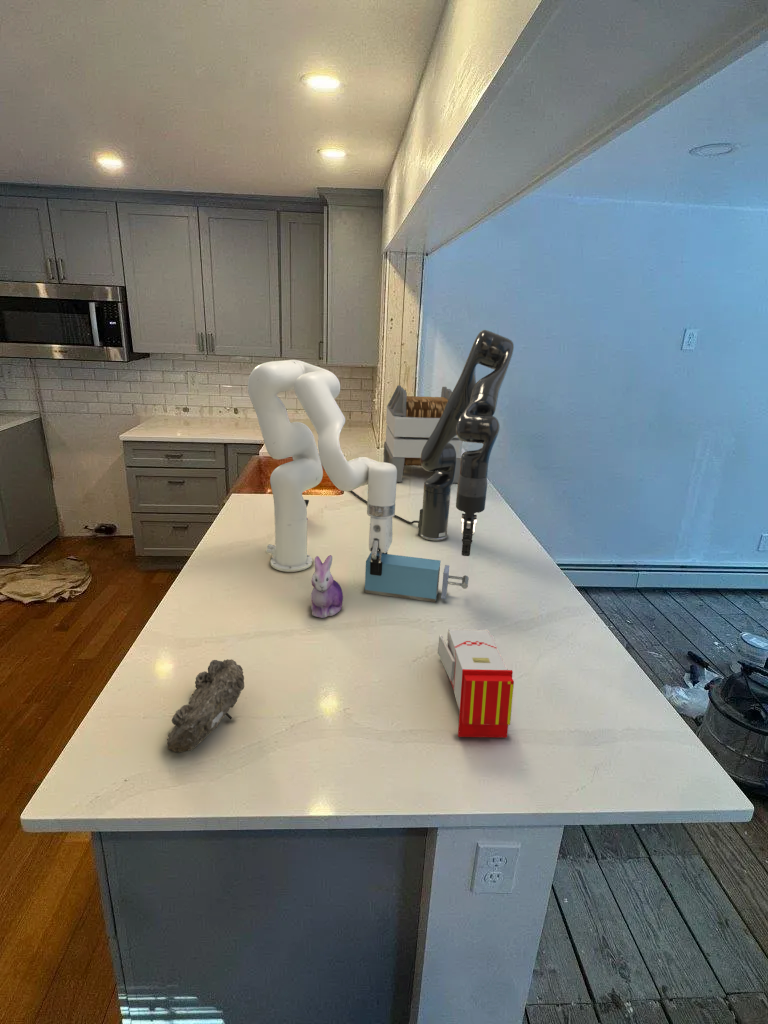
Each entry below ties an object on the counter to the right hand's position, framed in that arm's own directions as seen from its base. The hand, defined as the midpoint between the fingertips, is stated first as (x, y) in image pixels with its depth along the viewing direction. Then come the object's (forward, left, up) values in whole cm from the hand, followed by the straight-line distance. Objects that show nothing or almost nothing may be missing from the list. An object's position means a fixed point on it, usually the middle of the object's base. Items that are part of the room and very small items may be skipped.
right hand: (466, 549), depth 152 cm
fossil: (-14, -73, -15) cm, 76 cm away
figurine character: (-72, +11, -15) cm, 75 cm away
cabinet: (-15, -8, -15) cm, 22 cm away
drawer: (-9, -5, -14) cm, 18 cm away
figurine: (-24, -29, -15) cm, 40 cm away
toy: (+21, -35, -15) cm, 44 cm away
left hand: (-21, -11, -9) cm, 25 cm away
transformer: (-76, +100, -15) cm, 126 cm away
